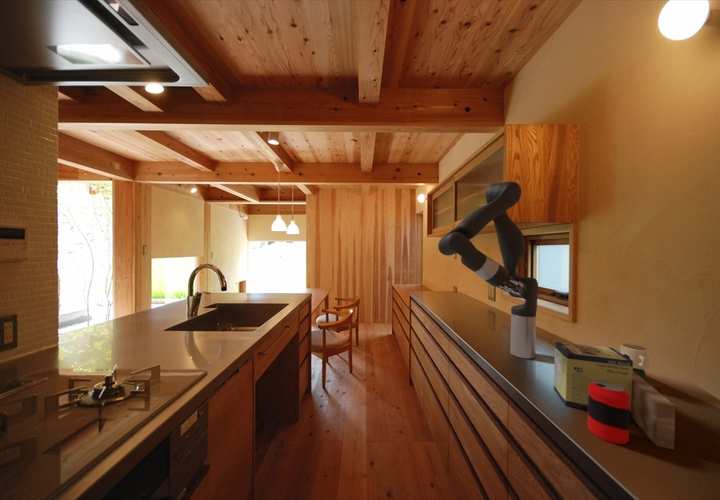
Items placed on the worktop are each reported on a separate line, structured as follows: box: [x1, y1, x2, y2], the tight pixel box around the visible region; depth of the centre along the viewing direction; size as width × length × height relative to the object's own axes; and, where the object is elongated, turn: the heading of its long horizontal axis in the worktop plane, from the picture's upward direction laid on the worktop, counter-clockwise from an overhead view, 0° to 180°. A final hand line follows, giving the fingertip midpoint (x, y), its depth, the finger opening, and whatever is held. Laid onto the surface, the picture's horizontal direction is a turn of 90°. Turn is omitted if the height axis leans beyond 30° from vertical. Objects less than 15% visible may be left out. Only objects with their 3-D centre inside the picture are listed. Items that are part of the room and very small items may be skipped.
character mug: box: [619, 342, 651, 383], centre depth 93 cm, size 11×7×13 cm, turn 159°
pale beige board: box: [630, 371, 676, 450], centre depth 76 cm, size 26×3×10 cm, turn 155°
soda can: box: [587, 380, 631, 445], centre depth 68 cm, size 8×8×12 cm
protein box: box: [553, 341, 633, 418], centre depth 83 cm, size 10×16×16 cm
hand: (528, 298), depth 99 cm, fingers closed
